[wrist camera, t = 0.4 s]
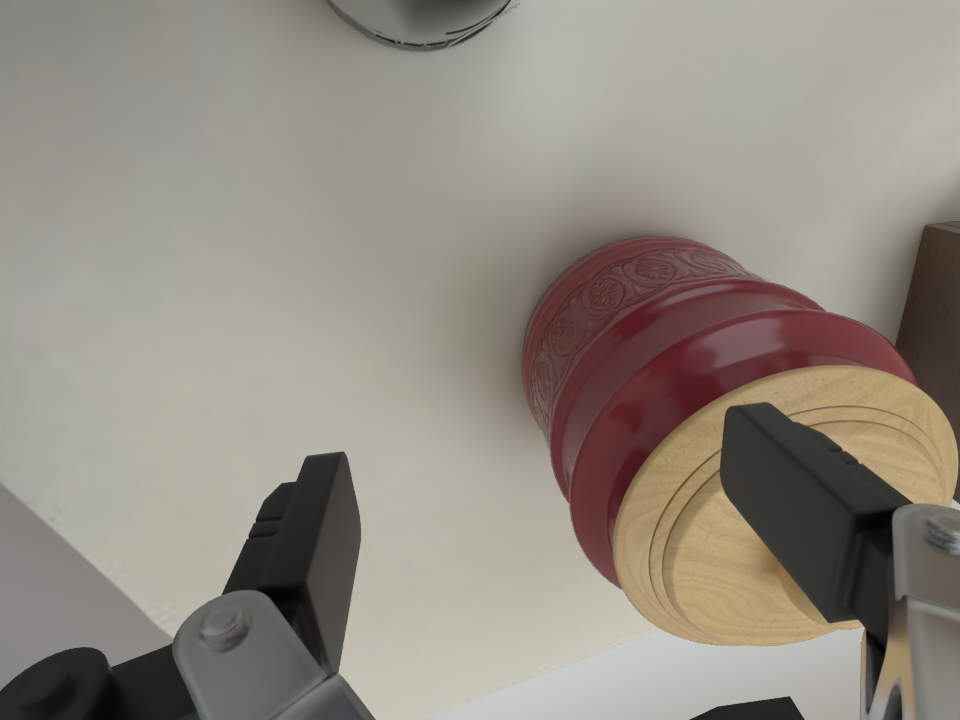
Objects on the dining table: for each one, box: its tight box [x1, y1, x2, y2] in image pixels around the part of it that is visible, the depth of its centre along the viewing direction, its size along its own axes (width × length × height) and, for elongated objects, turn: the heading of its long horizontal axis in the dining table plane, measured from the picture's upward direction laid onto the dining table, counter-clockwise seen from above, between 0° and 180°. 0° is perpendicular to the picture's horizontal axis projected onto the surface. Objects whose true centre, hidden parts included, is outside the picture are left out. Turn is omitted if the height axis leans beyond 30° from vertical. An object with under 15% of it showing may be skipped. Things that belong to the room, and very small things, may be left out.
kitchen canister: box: [522, 237, 958, 646], centre depth 23 cm, size 13×13×18 cm
